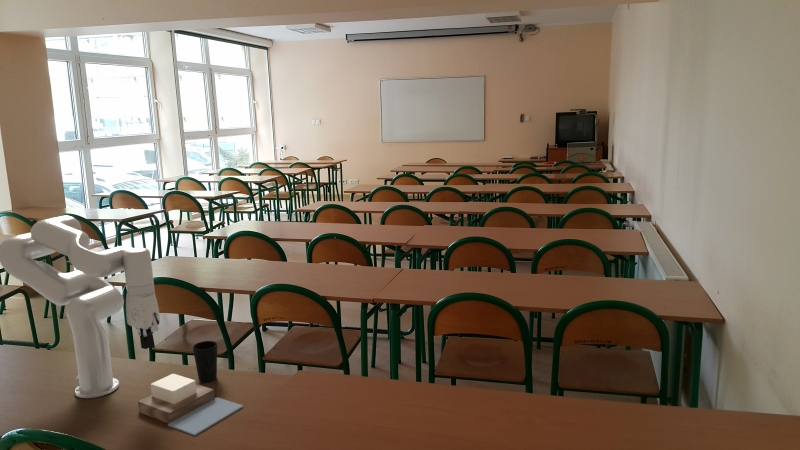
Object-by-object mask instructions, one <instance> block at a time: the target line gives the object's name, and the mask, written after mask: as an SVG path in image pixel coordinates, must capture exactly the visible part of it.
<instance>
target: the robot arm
mask: <svg viewBox="0 0 800 450" xmlns="http://www.w3.org/2000/svg"><path fill="white" fill-rule="evenodd" d="M89 245H90V237H89V235H88V233H86V232H85V231H83V230H82V225H81V223H80V222H79V220H78V219H77V218H75V217H74V216H70V215H60V216H55V217H50V218H44V219H42V220H39V221H37V222H35V223H34V224H33V225H32V226H31V228H30V231H29V232H26V233H21V234H16V235H14V236H10V237H8V238H6V239H4V240H3V241H2V242H0V265H1V266H2V268H3V269H4V271H5V272H7V274H9V275H11V276H12V277H13V278H15V279H16V280H17V281H20V282H22V283H24V284H26V286H27V285H28V286H29V287H30V288H32V289H33V290H34V291H35V292H37V293H39V295H41V296H42V297H44V298H45V299H47V300H48V301H49V302H51V303H52V304H54V305H56V306H59V307H60V306H66V309H65V313H66V318H67V320H68V324H69V326H70V329H71V334H72V339H73V344H74V345H73V346H74V352H75V360H76V367H77V374H78V375H76V377H75V379H76V380H78V382H79V383H78V386H76V388H75V389H74V395H75V396H76V397H78V398H80V399H93V398H100V397H103V396H105V395H106V396H107V395H109V394H111V393H112V392H114V391H115V390H117V389H118V388H119V387H120V381H119V380H118V379H117V378H114V375H113V367H112V359H111V349H110V342H109V334H108V331H107V330H106V329H105V327H104V326H103V325H102V323H101V321H103V320H105V319H106V318H109V317H111V316H113V315H115V314H118V313H119V312H120V311H121V310H122V309H123V308H124V305H125V312H126V315H125V316H126V322H127V323H126V324H127V325H129V326H130V327H133V328H135V329H136V330H137V334H138V336H139V340H140V348H141V349H144V350H148V349H149V348H152V347H154V346H155V345H154V344H155V343H154V337H153V335H154V333H155V332H158V331H159V325H160V323H161V317H160V309H159V304H158V299H157V297H156V293H155V282H154V275H153V265H152V257H151V252H150V250H149V249H148V248H146V247H132V246H127V245H118V246H115V247H111V248H108V249H104V250H100V251H98V252H96V251H93V250H91V249H88V248H89ZM54 253H59V254H61V255H64V256H67V257H68V260H69V262H70V265H72V267H74V269H76V270H72V271H69V272H62V271H60V270H58V269H56V268H55V267H54V266H52V265H51V264H49V263H46V262H43V261H38V260H36V259H38V258H41V257H46V256H48V255H51V254H54ZM121 272H124V278H125V279H124V280H125V287H126V297H125V300H124V297H123V294H122V293H121V291H120V290H118V288H116V287H115V286H114V285H112V284H111V283H110V282H108V281H107V280H106V279H104V278H106V277H109V276H112V275H115V274H118V273H121ZM124 303H125V304H124Z"/></svg>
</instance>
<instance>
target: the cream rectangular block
mask: <svg viewBox="0 0 800 450" xmlns="http://www.w3.org/2000/svg"><path fill="white" fill-rule="evenodd" d="M196 384H197V383H196V379H192V378H189V377H186V376H182V375H179V374H176V373H171V374H169V375H167V376H165V377H162V378H161V379H158V380H156V381H153V382H152V383H150V390H151V391H150V392H151V395H152V397H155V398H158V399H161V400H164V401H167V402H170V403H172V404H176V403H178V402H180V401H182V400H183V399H185V398H187V397H189V396H191V395H193V394H195V393H196Z"/></svg>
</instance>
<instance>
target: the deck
mask: <svg viewBox="0 0 800 450" xmlns="http://www.w3.org/2000/svg"><path fill="white" fill-rule="evenodd" d="M215 398H216V397H215V390H214V389H213V388H210V387H207V386H204V385H201V384H197V383H196V393H195V394H193V395H191V396H189V397H187V398H185V399H183V400H182V401H180V402H178V403H176V404H172V403H170V402H167V401H164V400H161V399H158V398H155V397H152V394H150V395H149V396H146V397H144V398H142V399H139V400H138V401H137V405H138V413H140V414H142V415H146V416H148V417H150V418H153V419H155V420H159V421H161V422H164V423H165V424H166V423H167V424H169V423H171V422H173V421H175V420H176V419H178V418H180V417H182V416H184V415H185V414H187V413H189V412H191V411H193V410H195V409H196V408H198V407H200V406H202V405H204V404H206V403H207V402H209V401H211V400H213V399H215Z"/></svg>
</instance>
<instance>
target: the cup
mask: <svg viewBox="0 0 800 450" xmlns="http://www.w3.org/2000/svg"><path fill="white" fill-rule="evenodd" d="M192 351H193V352H192V353H193V355H194V356H193V357H194V361H195V367H196V372H197V376H198V377H197V378H198V381H199V383H200V382H201V384H210V382H211V383H213V382H215V381H216V380H217V379H218V376H217V374H218V342H216V341H214V340H205V341H200V342H197V343H194V344H193V346H192Z"/></svg>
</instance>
